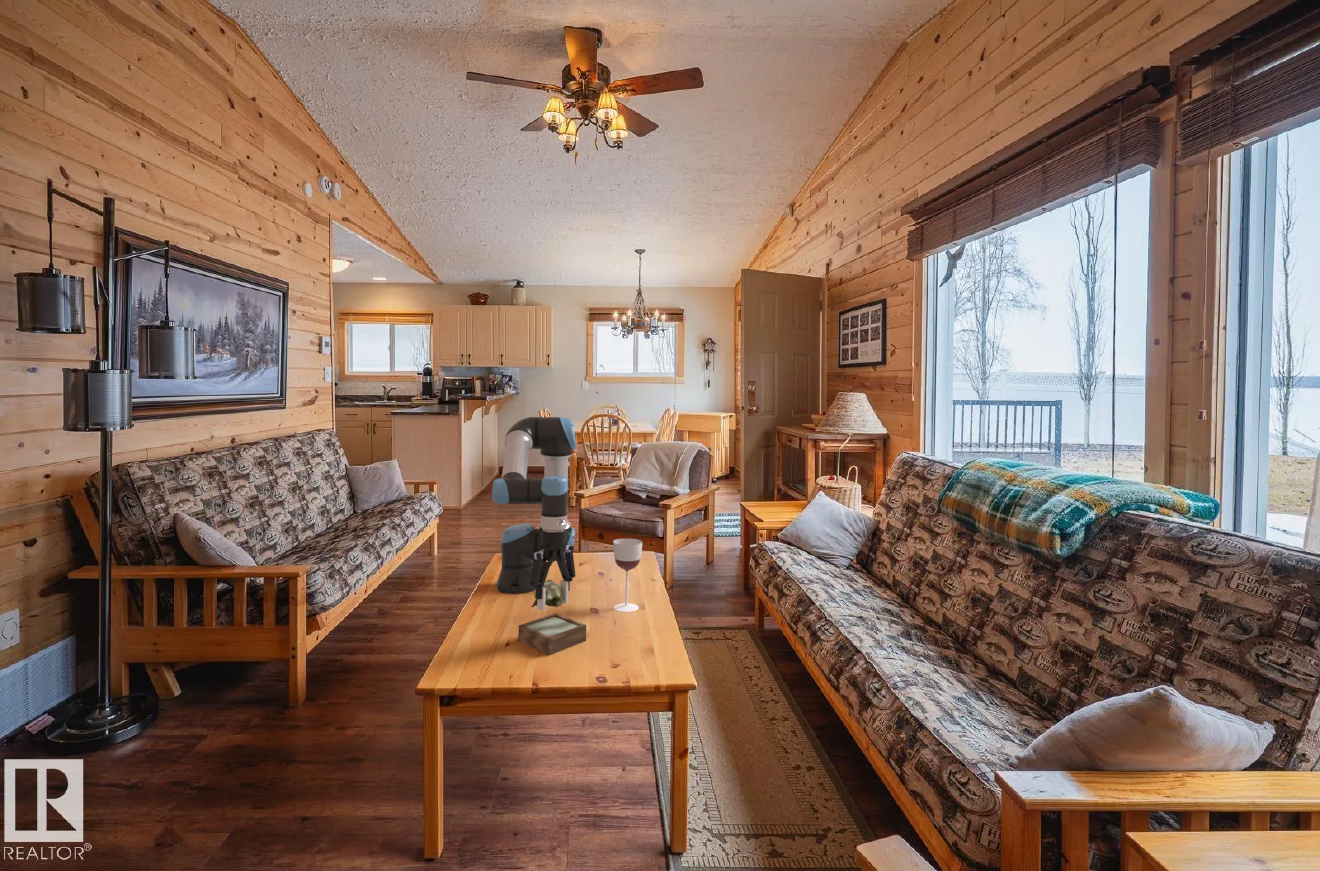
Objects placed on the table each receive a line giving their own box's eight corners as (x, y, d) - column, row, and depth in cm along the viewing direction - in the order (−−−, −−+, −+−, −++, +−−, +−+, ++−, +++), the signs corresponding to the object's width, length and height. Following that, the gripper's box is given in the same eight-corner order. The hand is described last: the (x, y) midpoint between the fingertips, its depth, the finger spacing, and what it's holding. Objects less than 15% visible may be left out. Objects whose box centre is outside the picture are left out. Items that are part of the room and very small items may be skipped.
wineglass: (637, 613, 204) (638, 545, 203) (608, 610, 206) (610, 543, 205) (643, 604, 213) (645, 539, 211) (615, 601, 215) (617, 537, 213)
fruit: (538, 603, 185) (543, 576, 186) (567, 609, 183) (571, 582, 183) (525, 607, 176) (530, 579, 177) (554, 613, 174) (559, 585, 175)
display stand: (518, 641, 179) (518, 625, 178) (555, 628, 189) (555, 613, 189) (549, 655, 170) (549, 638, 169) (586, 640, 180) (586, 624, 180)
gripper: (533, 537, 167) (532, 618, 168) (588, 526, 183) (587, 600, 184) (516, 532, 172) (516, 611, 173) (572, 522, 188) (571, 594, 189)
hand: (552, 605), depth 179 cm, fingers closed on fruit, 8 cm apart
